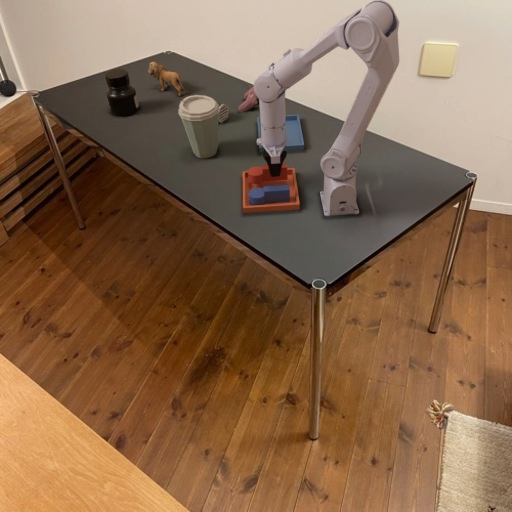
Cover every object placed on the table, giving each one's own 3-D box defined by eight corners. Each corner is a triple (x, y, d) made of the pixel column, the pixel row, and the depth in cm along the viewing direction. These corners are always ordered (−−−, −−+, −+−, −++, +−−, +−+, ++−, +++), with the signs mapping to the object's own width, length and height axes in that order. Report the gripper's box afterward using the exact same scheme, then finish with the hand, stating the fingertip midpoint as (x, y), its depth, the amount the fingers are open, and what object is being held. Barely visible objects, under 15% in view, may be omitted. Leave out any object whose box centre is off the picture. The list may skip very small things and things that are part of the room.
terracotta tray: (299, 211, 119) (299, 204, 117) (243, 214, 119) (243, 207, 118) (294, 174, 130) (294, 167, 128) (243, 178, 130) (242, 171, 129)
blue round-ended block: (289, 194, 123) (288, 182, 121) (290, 204, 120) (290, 192, 118) (249, 197, 123) (248, 185, 121) (249, 207, 120) (248, 195, 118)
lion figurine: (149, 90, 172) (143, 64, 166) (158, 84, 175) (153, 58, 169) (185, 97, 166) (180, 70, 160) (194, 90, 169) (190, 64, 163)
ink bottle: (145, 109, 162) (137, 72, 153) (123, 120, 157) (113, 82, 149) (127, 100, 167) (118, 64, 159) (105, 111, 162) (95, 74, 154)
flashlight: (179, 115, 157) (176, 99, 154) (189, 108, 161) (186, 91, 157) (219, 126, 151) (217, 109, 147) (229, 118, 154) (227, 101, 150)
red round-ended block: (286, 172, 127) (286, 161, 125) (287, 182, 124) (287, 170, 122) (248, 175, 127) (247, 163, 125) (248, 184, 124) (247, 172, 122)
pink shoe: (249, 118, 156) (258, 99, 152) (236, 111, 156) (245, 92, 151) (256, 103, 163) (265, 85, 159) (243, 97, 163) (251, 78, 158)
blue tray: (304, 151, 138) (304, 144, 136) (259, 154, 138) (259, 147, 137) (298, 120, 150) (298, 114, 149) (257, 123, 151) (257, 117, 149)
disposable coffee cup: (230, 145, 142) (224, 95, 132) (215, 166, 135) (208, 114, 125) (196, 140, 145) (188, 91, 135) (179, 160, 138) (169, 109, 128)
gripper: (254, 108, 121) (257, 157, 130) (256, 139, 110) (259, 191, 119) (284, 106, 120) (285, 156, 130) (288, 137, 110) (289, 189, 119)
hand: (275, 172), depth 124 cm, fingers closed on red round-ended block, 2 cm apart
